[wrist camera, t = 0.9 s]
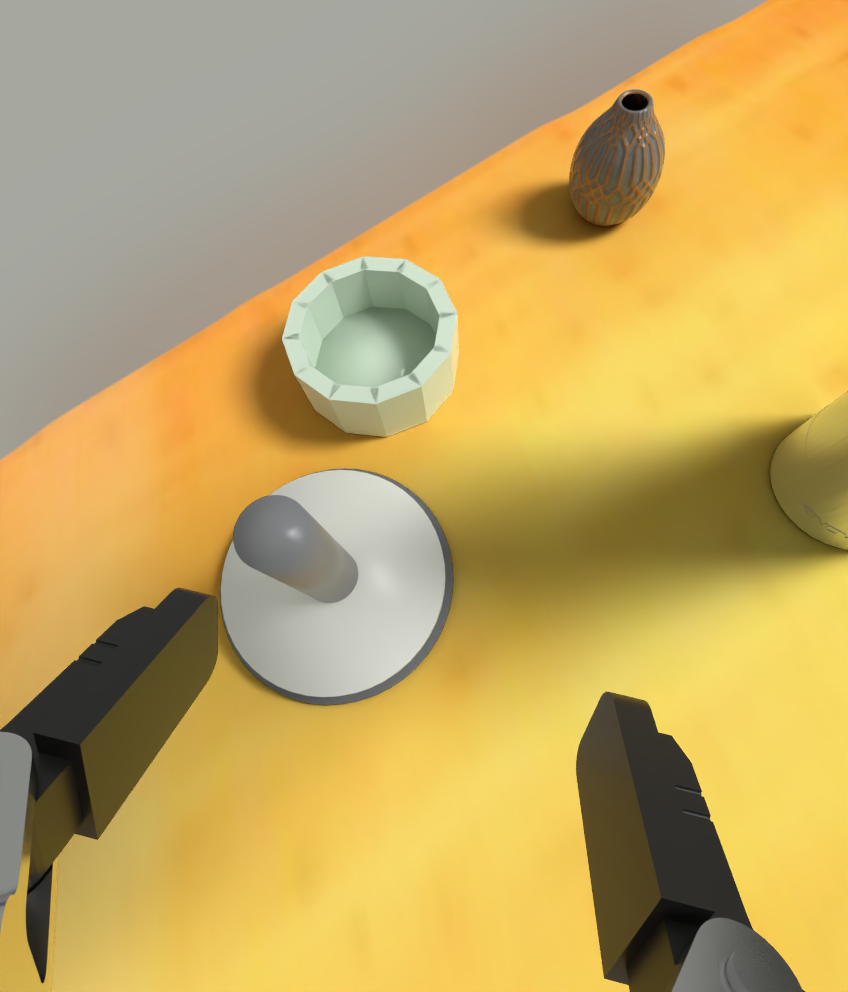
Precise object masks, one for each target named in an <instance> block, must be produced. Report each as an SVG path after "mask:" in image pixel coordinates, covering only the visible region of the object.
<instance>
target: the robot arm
mask: <svg viewBox="0 0 848 992" xmlns="http://www.w3.org/2000/svg"><path fill="white" fill-rule="evenodd" d="M770 477H771V483H772V488H773V491H774V494H775V496H776V498H777V501H778V503H779V504H780V506H781V507H782V509H783V510H784V512H785V513H786V515H787V516H788V517H789V518H790V519H791V520H792V521H793V522H794V523H795V524H796V525H797V526H798V527H799V528H800V529H802V530H803V531H804V532H806V533H807V534H809V535H810V536H811V537H813V538H815V539H817V540H819V541H821V542H823V543H825V544H827V545H831V546H834V547H837V548H841V549H845V550H848V391H847V392H846V393H844V394H843V395H842V396H840V397H839V398H838V399H836V400H835V401H834V402H832V403H831V404H829V405H828V406H827V407H825V408H824V409H823V410H821V411H820V412H818V413H817V414H816V415H814V416H813V417H812V418H810V419H809V420H808V421H806V422H805V423H804V424H802V425H801V426H800V427H798V428H797V429H796V430H794V431H793V432H792V433H791V434H789V435H788V436H787V437H786V438H785V439H784V440H783V441H782V442H781V443H780V445H779V446H778V448H777V449H776V451H775V453H774V456H773V459H772V462H771V472H770ZM217 655H218V602H217V599H216V597H215V596H212V595H208V594H204V593H199V592H195V591H191V590H187V589H183V588H177V589H175V590H173V591H172V592H171V593H170V594H169V595H168V596H167V597H166V598H165V599H164V600H163V601H162V602H161V603H160V604H159V605H158V606H157V607H156V608H155V609H152V608H148V607H142V608H140V609H138V610H136V611H134V612H132V613H130V614H128V615H127V616H125V617H123V618H121V619H119V620H117V621H116V622H115V623H114V624H113V625H112V626H111V627H109V628H108V629H107V630H106V631H105V632H104V633H103V634H102V635H101V636H100V637H99V638H98V639H97V640H96V643H95V644H91V645H90V646H89V647H88V648H87V649H86V650H85V651H84V652H83V653H82V654H81V655H80V656H79V659H78V660H77V661H74V662H72V663H71V664H70V665H69V666H68V667H67V668H66V669H65V670H64V671H63V672H62V673H61V674H60V675H59V676H58V677H57V678H56V679H54V680H53V681H52V682H51V683H50V684H49V685H48V686H47V687H46V688H45V689H44V690H43V691H42V692H41V693H40V694H39V695H38V696H36V697H35V698H34V699H33V700H32V701H31V702H30V703H29V704H28V705H27V706H26V707H25V708H24V709H23V710H22V711H21V712H20V713H19V714H17V715H16V716H15V717H14V718H13V719H12V720H11V721H10V722H9V723H8V724H7V725H6V726H4V727H3V728H2V729H1V730H0V992H52V977H53V958H54V939H55V919H56V900H57V881H58V855H59V854H60V852H61V851H62V850H63V848H64V847H65V846H66V844H67V843H68V842H69V840H70V839H71V838H72V836H73V835H74V833H75V834H78V835H82V836H86V837H89V838H93V839H97V840H98V839H99V837H100V836H101V834H102V833H103V831H104V830H105V829H106V827H107V826H108V824H109V823H110V821H111V820H112V818H113V817H114V816H115V814H116V813H117V811H118V810H119V808H120V807H121V805H122V804H123V803H124V801H125V800H126V798H127V797H128V795H129V794H130V793H131V791H132V790H133V788H134V787H135V785H136V784H137V782H138V781H139V780H140V778H141V777H142V775H143V774H144V772H145V771H146V769H147V768H148V767H149V765H150V764H151V762H152V761H153V759H154V758H155V757H156V755H157V754H158V752H159V751H160V749H161V748H162V746H163V745H164V744H165V742H166V741H167V739H168V738H169V736H170V735H171V734H172V732H173V731H174V729H175V728H176V726H177V725H178V723H179V722H180V721H181V719H182V718H183V716H184V715H185V713H186V712H187V710H188V709H189V708H190V706H191V705H192V703H193V702H194V700H195V699H196V698H197V696H198V695H199V693H200V692H201V690H202V689H203V687H204V686H205V685H206V683H207V682H208V680H209V678H210V676H211V674H212V672H213V669H214V667H215V664H216V660H217ZM576 775H577V783H578V790H579V797H580V805H581V812H582V819H583V827H584V834H585V841H586V849H587V856H588V863H589V871H590V878H591V885H592V893H593V900H594V907H595V915H596V922H597V929H598V937H599V944H600V951H601V959H602V966H603V973H604V979H608V980H612V981H616V982H619V983H623V984H627V985H629V989H630V992H805V991H804V990H802V988H801V986H800V984H799V982H798V980H797V978H796V977H795V975H794V973H793V972H792V970H791V969H790V967H789V966H788V964H787V963H786V962H785V960H784V959H783V958H782V957H781V955H780V954H779V953H778V952H777V951H776V950H775V949H774V947H772V946H771V945H770V944H769V943H768V942H767V941H766V940H765V939H764V938H763V937H761V936H760V935H759V934H758V933H756V932H755V931H754V930H753V928H752V926H751V924H750V921H749V919H748V917H747V914H746V911H745V908H744V906H743V903H742V900H741V898H740V895H739V892H738V889H737V887H736V884H735V881H734V878H733V876H732V873H731V870H730V867H729V865H728V862H727V859H726V856H725V854H724V851H723V848H722V845H721V843H720V840H719V837H718V835H717V832H716V829H715V826H714V824H713V822H711V821H710V816H711V815H710V813H709V810H708V807H707V804H706V802H705V799H704V797H702V796H701V792H702V791H701V788H700V785H699V782H698V780H697V777H696V774H695V772H694V769H693V766H692V763H691V762H690V760H689V759H688V758H687V756H686V755H685V753H684V752H683V751H682V749H681V748H680V747H679V745H678V744H677V743H676V741H675V740H674V739H673V737H672V736H670V735H666V734H662V733H658V730H657V727H656V724H655V721H654V718H653V715H652V712H651V709H650V706H649V704H648V703H647V702H646V701H644V700H641V699H636V698H632V697H628V696H624V695H620V694H616V693H611V692H605V693H604V694H603V695H602V696H601V698H600V700H599V702H598V705H597V707H596V709H595V711H594V713H593V715H592V718H591V720H590V722H589V724H588V726H587V728H586V731H585V733H584V735H583V737H582V739H581V742H580V744H579V748H578V753H577V761H576Z"/></svg>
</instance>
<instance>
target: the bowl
mask: <svg viewBox="0 0 848 992" xmlns="http://www.w3.org/2000/svg"><path fill="white" fill-rule="evenodd" d="M282 341H283V343H284V346H285V349H286V352H287V355H288V358H289V361H290V363H291V366H292V369H293V372H294V375H295V377H296V378H297V380H298V382H299V383H300V385H301V387H302V389H303V390H304V392H305V394H306V396H307V397H308V399H309V401H310V402H311V404H312V406H313V408H314V409H315V411H317V412H318V413H319V414H321V415H322V416H324V417H325V418H326V419H328V420H329V421H330V422H332V423H333V424H334V425H336V426H337V427H339V428H340V429H341V430H343V431H344V432H345V433H353V434H362V435H372V436H381V437H389V436H391V435H394V434H397V433H399V432H402V431H404V430H407V429H409V428H412V427H415V426H417V425H420V424H422V423H425V422H427V421H428V420H429V419H430V418H431V417H432V415H433V414H434V413H435V412H436V411H437V410H438V408H439V407H440V406H441V405H442V404H443V403H444V401H445V400H446V399H447V398H448V397H449V396H450V394H451V393H452V392H453V390H454V383H455V377H456V370H457V364H458V357H459V347H458V314H457V311H456V309H455V307H454V305H453V303H452V301H451V300H450V298H449V296H448V294H447V292H446V290H445V288H444V286H443V284H442V282H441V280H440V279H439V278H437V277H435V276H434V275H432V274H430V273H429V272H427V271H425V270H423V269H422V268H420V267H418V266H417V265H415V264H413V263H411V262H410V261H408V260H406V259H395V258H379V257H360V258H358V259H355V260H352V261H349V262H347V263H344V264H341V265H339V266H336V267H333V268H331V269H328V270H325V271H322V272H321V273H320V274H319V275H318V276H317V277H316V278H315V279H314V280H313V281H312V282H311V283H310V284H309V285H308V286H307V287H306V288H305V289H304V290H303V291H302V292H301V293H300V294H299V295H298V296H297V297H296V298H295V299H294V300H293V301H292V304H291V308H290V312H289V315H288V319H287V322H286V326H285V329H284V333H283V336H282Z"/></svg>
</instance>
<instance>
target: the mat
mask: <svg viewBox="0 0 848 992" xmlns="http://www.w3.org/2000/svg"><path fill="white" fill-rule="evenodd" d="M332 470H351V471H358V472H364V473H368V474H371V475H375V476H378V477H381V478H383V479H385V480H387V481H389V482H391V483H393V484H395V485H396V486H398V487H399V488H401V489H402V490H404V491H405V492H406V493H407V494H408V495H410V496H411V497H412V498H413V499H414V500H415V501H416V502H417V503H418V504H419V506H420V507H421V508H422V509H423V510H424V512H425V513H426V515H427V516H428V518H429V519H430V521H431V523H432V525H433V527H434V529H435V531H436V533H437V535H438V538H439V541H440V544H441V548H442V553H443V558H444V563H445V577H446V580H445V593H444V598H443V603H442V608H441V611H440V614H439V617H438V620H437V623H436V625H435V627H434V629H433V631H432V633H431V635H430V637H429V638H428V640H427V641H426V643H425V644H424V646H423V647H422V649H421V650H420V651H419V652H418V654H417V655H416V656H415V657H414V658H413V659H412V660H411V662H410V663H408V664H407V665H406V666H405V667H404V668H403V669H402V670H400V671H399V672H398V673H397V674H395V675H394V676H392V677H391V678H389V679H388V680H386V681H384V682H382V683H380V684H378V685H376V686H374V687H372V688H370V689H367V690H364V691H361V692H358V693H353V694H348V695H343V696H336V697H315V696H306V695H302V694H298V693H294V692H290V691H288V690H285V689H283V688H281V687H278V686H276V685H275V684H273V683H271V682H270V681H268V680H266V679H265V678H263V677H262V676H261V675H260V674H258V673H257V672H256V671H255V670H254V669H252V667H251V666H250V665H249V664H248V663H247V662H246V661H245V660H244V659H243V657H242V656H241V654H240V653H239V651H238V650H237V648H236V647H235V645H234V643H233V641H232V639H231V637H230V635H229V633H228V630H227V627H226V623H225V620H224V616H223V610H222V605H221V611H222V617H223V623H224V626H225V629H226V632H227V635H228V638H229V640H230V642H231V644H232V646H233V649H234V651H235V652H236V654H237V655H238V657H239V658H240V660H241V661H242V663H243V664H244V665H245V666H246V668H247V669H248V670H249V671H250V672H251V673H252V674H253V675H254V676H255V677H256V678H257V679H259V680H260V681H261V682H262V683H263V684H265V685H266V686H268V687H269V688H271V689H273V690H274V691H276V692H277V693H279V694H282V695H284V696H286V697H289V698H291V699H294V700H298V701H302V702H306V703H310V704H320V705H337V704H346V703H351V702H357V701H360V700H363V699H366V698H369V697H372V696H375V695H377V694H379V693H381V692H383V691H385V690H387V689H389V688H391V687H393V686H394V685H395V684H397V683H398V682H400V681H401V680H403V679H404V678H405V677H407V676H408V675H409V674H410V673H411V672H412V671H413V670H414V669H416V668H417V666H418V665H419V664H420V663H421V662H422V661H423V660H424V658H425V657H426V656H427V655H428V653H429V652H430V650H431V649H432V647H433V646H434V644H435V643H436V641H437V639H438V637H439V635H440V633H441V631H442V629H443V627H444V624H445V622H446V619H447V616H448V613H449V609H450V604H451V599H452V591H453V568H452V560H451V555H450V550H449V547H448V544H447V541H446V538H445V535H444V533H443V531H442V529H441V527H440V525H439V523H438V521H437V519H436V518H435V516H434V515H433V513H432V512H431V510H430V509H429V508H428V507H427V506H426V505H425V504H424V502H423V501H422V500H421V499H420V498H419V497H418V496H416V495H415V494H414V493H413V492H412V491H410V490H409V489H408V488H406V487H405V486H403V485H401V484H400V483H398V482H396V481H394V480H392V479H390V478H388V477H386V476H383V475H380V474H377V473H373V472H369V471H364V470H358V469H332ZM332 470H326V471H332ZM320 472H323V471H320ZM315 473H318V472H315ZM312 474H313V473H312ZM309 475H310V474H309ZM306 476H307V475H306ZM303 477H304V476H303ZM300 478H301V477H300ZM221 581H222V578H221ZM220 598H221V590H220Z"/></svg>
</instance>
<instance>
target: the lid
mask: <svg viewBox="0 0 848 992" xmlns="http://www.w3.org/2000/svg"><path fill="white" fill-rule="evenodd" d="M445 580H446V577H445V563H444V558H443V553H442V548H441V544H440V541H439V538H438V535H437V533H436V531H435V529H434V527H433V525H432V523H431V521H430V519H429V518H428V516H427V515H426V513H425V512H424V510H423V509H422V508H421V507H420V506H419V504H418V503H417V502H416V501H415V500H414V499H413V498H412V497H411V496H410V495H408V494H407V493H406V492H405V491H404V490H402V489H401V488H399V487H398V486H396V485H395V484H393V483H391V482H389V481H387V480H385V479H383V478H381V477H378V476H375V475H371V474H368V473H364V472H358V471H351V470H332V471H323V472H318V473H313V474H310V475H307V476H304V477H301V478H298V479H296V480H294V481H292V482H289V483H287V484H285V485H284V486H282V487H280V488H279V489H277V490H276V491H274V492H273V493H271V494H270V495H269V496H265V497H262V498H260V499H258V500H256V501H254V502H252V503H251V504H250V505H248V506H247V507H246V508H245V509H244V511H243V512H242V513H241V514H240V516H239V518H238V520H237V522H236V524H235V527H234V532H233V541H232V543H231V545H230V548H229V550H228V553H227V556H226V559H225V563H224V568H223V572H222V581H221V605H222V610H223V616H224V620H225V623H226V627H227V630H228V633H229V635H230V637H231V639H232V641H233V643H234V645H235V647H236V648H237V650H238V651H239V653H240V654H241V656H242V657H243V659H244V660H245V661H246V662H247V663H248V664H249V665H250V666H251V667H252V669H254V670H255V671H256V672H257V673H258V674H260V675H261V676H262V677H263V678H265V679H266V680H268V681H270V682H271V683H273V684H275V685H276V686H278V687H281V688H283V689H285V690H288V691H290V692H294V693H298V694H302V695H306V696H315V697H336V696H343V695H348V694H353V693H358V692H361V691H364V690H367V689H370V688H372V687H374V686H376V685H378V684H380V683H382V682H384V681H386V680H388V679H389V678H391V677H392V676H394V675H395V674H397V673H398V672H399V671H400V670H402V669H403V668H404V667H405V666H406V665H407V664H408V663H410V662H411V660H412V659H413V658H414V657H415V656H416V655H417V654H418V652H419V651H420V650H421V649H422V647H423V646H424V644H425V643H426V641H427V640H428V638H429V637H430V635H431V633H432V631H433V629H434V627H435V625H436V623H437V620H438V617H439V614H440V611H441V608H442V603H443V598H444V593H445Z"/></svg>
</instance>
